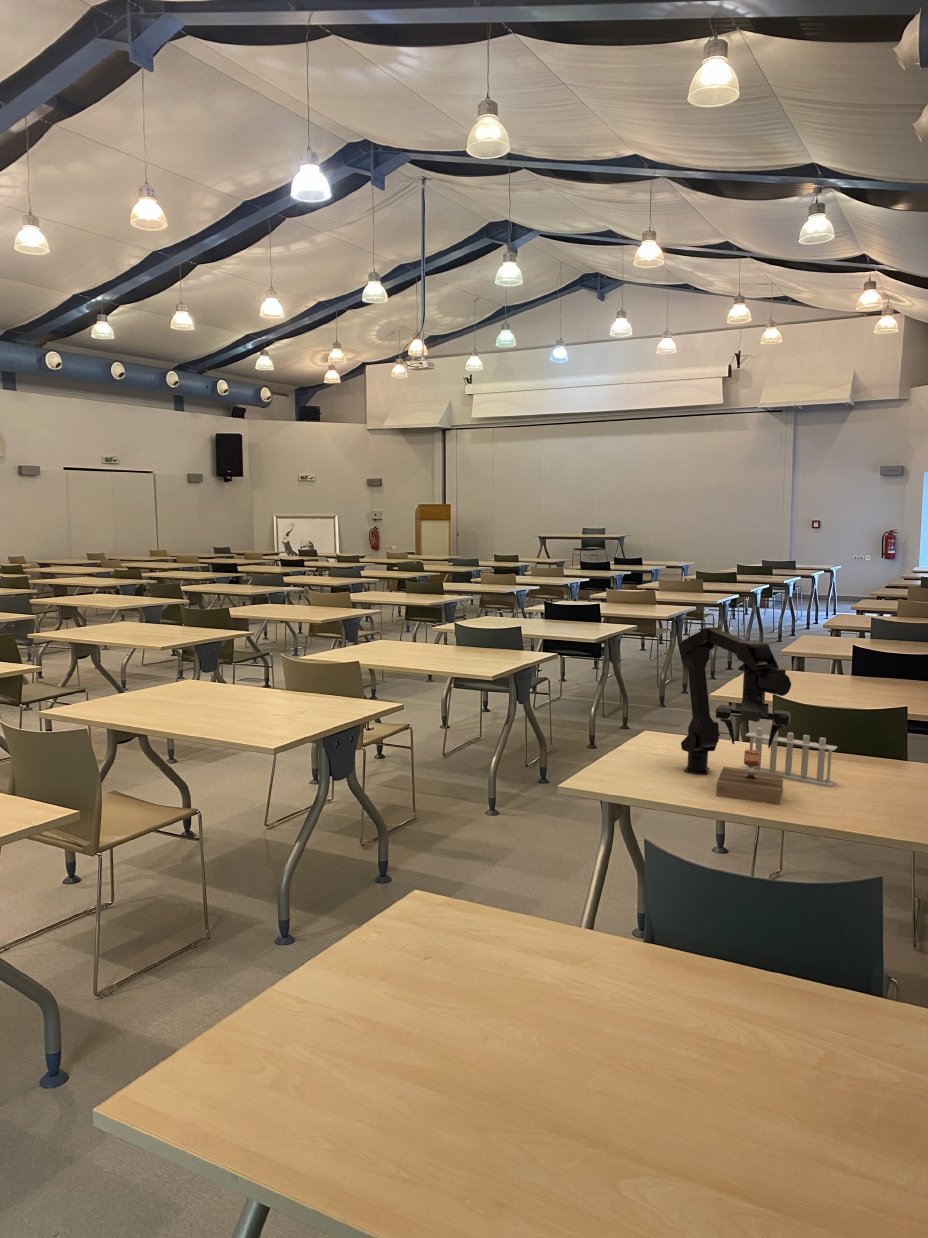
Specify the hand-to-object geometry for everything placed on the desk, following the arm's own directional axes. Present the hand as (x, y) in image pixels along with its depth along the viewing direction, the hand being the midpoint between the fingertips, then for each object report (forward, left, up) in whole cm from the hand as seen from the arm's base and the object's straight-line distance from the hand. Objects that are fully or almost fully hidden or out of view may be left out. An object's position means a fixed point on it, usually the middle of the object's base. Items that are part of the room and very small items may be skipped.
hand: (751, 745), depth 226 cm
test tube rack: (-21, +9, -13) cm, 26 cm away
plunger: (-1, 0, -9) cm, 9 cm away
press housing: (-1, 0, -13) cm, 13 cm away
